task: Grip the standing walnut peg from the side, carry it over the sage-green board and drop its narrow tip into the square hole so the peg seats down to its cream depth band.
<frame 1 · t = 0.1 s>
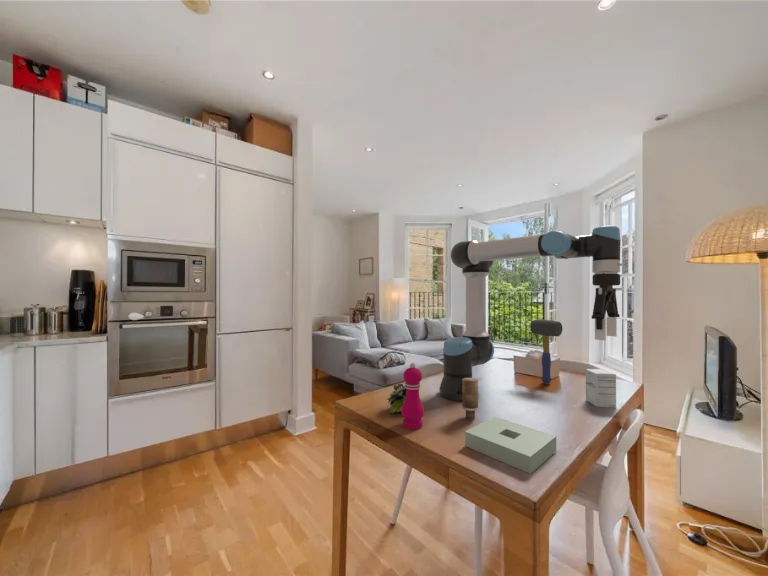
hand: (606, 338, 104), 28 cm above the table, tool pointing down, fingers open, 13 cm apart
supplement box: (600, 404, 121), on the table
sage board: (510, 448, 86), on the table
walnut peg: (470, 418, 107), on the table
rubber mallet: (546, 384, 148), on the table
pepper mill: (412, 426, 101), on the table
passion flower: (403, 411, 114), on the table
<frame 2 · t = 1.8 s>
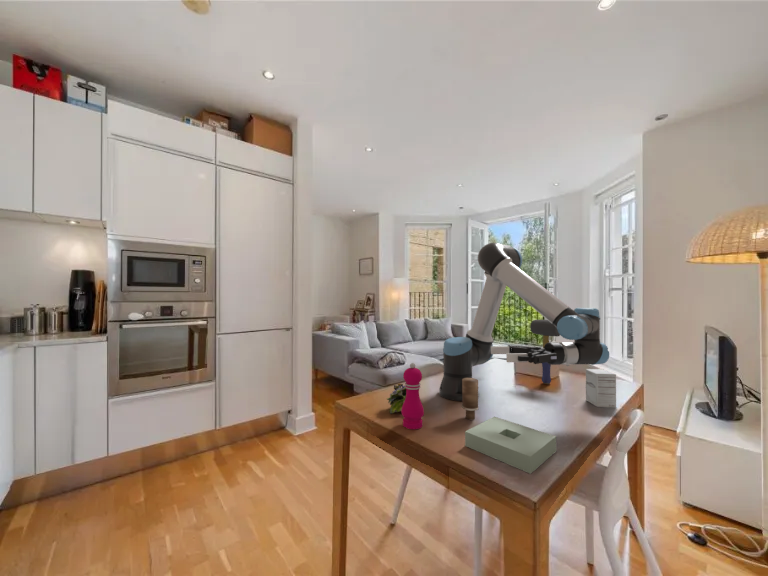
hand: (498, 353, 108), 22 cm above the table, tool horizontal, fingers open, 13 cm apart
nothing on the table moved.
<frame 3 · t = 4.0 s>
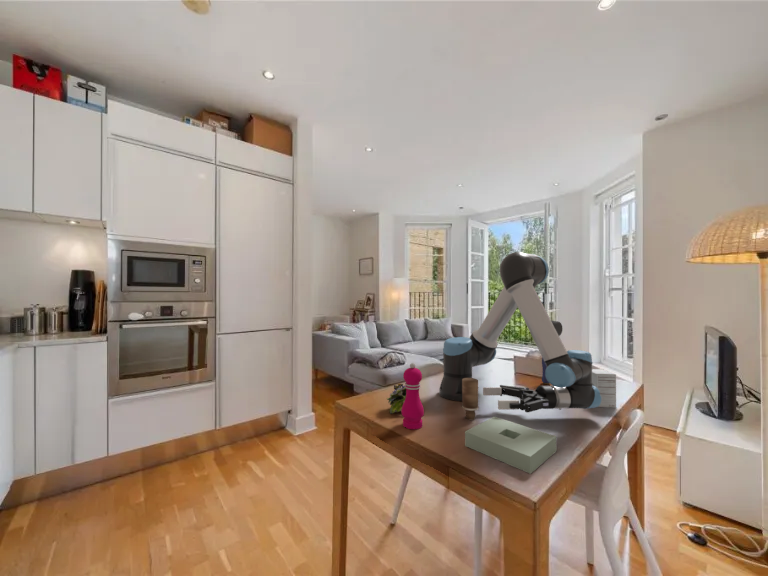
hand: (490, 397, 107), 7 cm above the table, tool horizontal, fingers open, 13 cm apart
nothing on the table moved.
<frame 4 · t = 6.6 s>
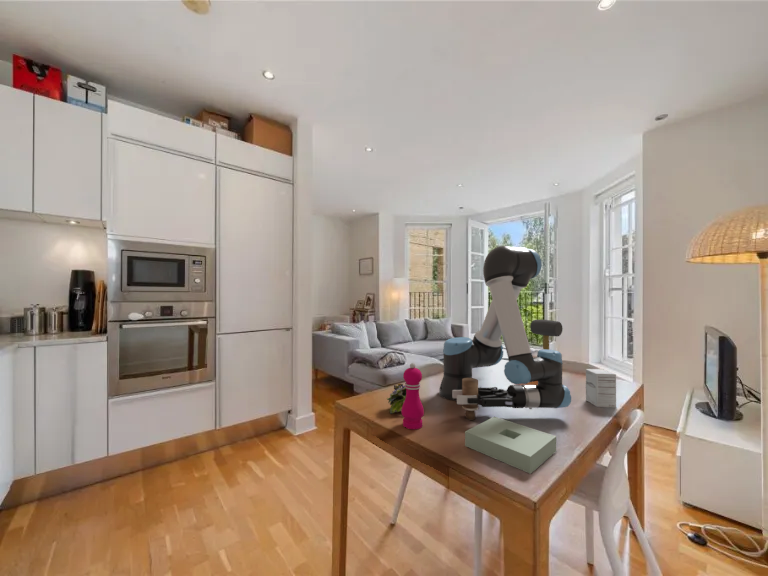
hand: (454, 396, 107), 7 cm above the table, tool horizontal, fingers closed on walnut peg, 5 cm apart
walnut peg: (470, 418, 107), on the table, touching gripper
everything else where it was.
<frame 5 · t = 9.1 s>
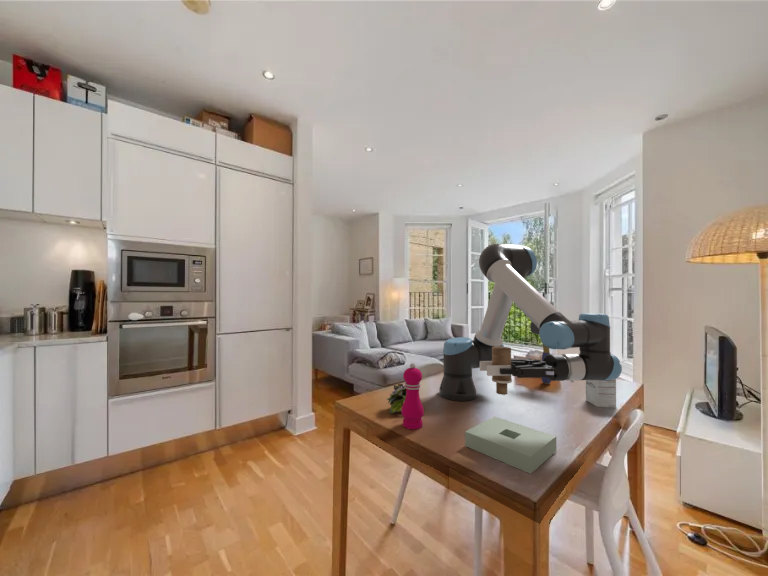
hand: (483, 368, 91), 21 cm above the table, tool horizontal, fingers closed on walnut peg, 5 cm apart
walnut peg: (501, 393, 91), point 14 cm above the table, touching gripper
everything else where it was.
when the fingers open (10 cm above the table, at t = 11.7 s): walnut peg drops 2 cm, resting on sage board.
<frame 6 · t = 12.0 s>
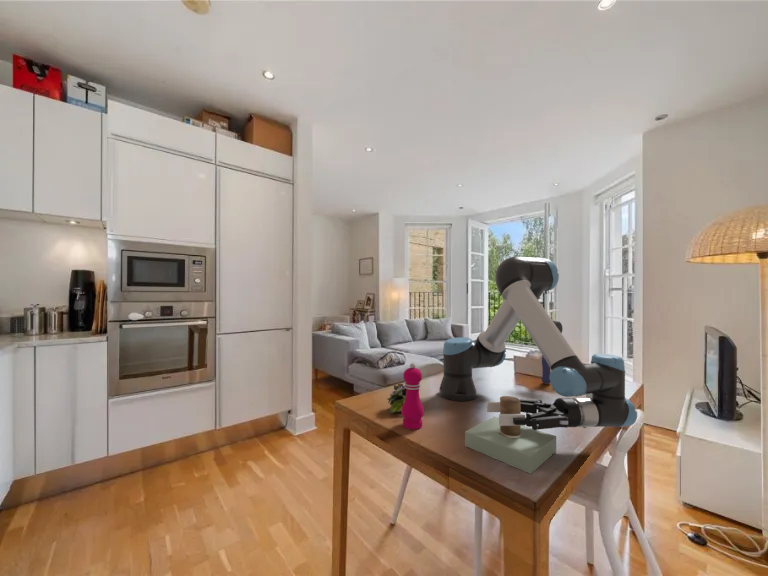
hand: (493, 413, 86), 10 cm above the table, tool horizontal, fingers open, 8 cm apart
walnut peg: (510, 446, 86), resting on sage board
everything else where it was.
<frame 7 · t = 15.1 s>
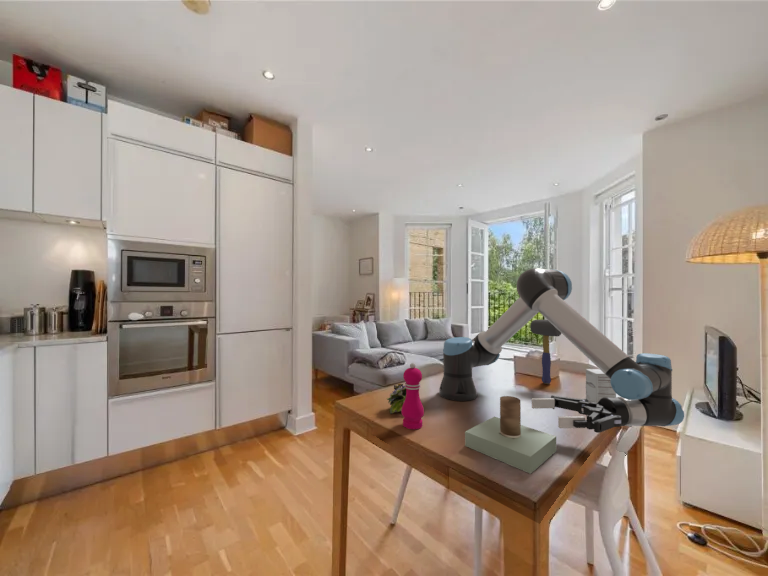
hand: (544, 412, 87), 10 cm above the table, tool horizontal, fingers open, 13 cm apart
nothing on the table moved.
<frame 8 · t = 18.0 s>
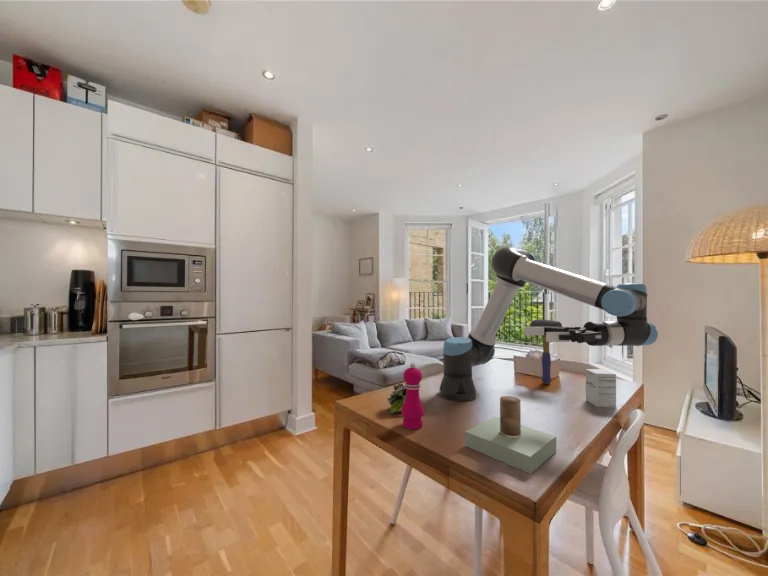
hand: (534, 333, 98), 30 cm above the table, tool horizontal, fingers open, 13 cm apart
nothing on the table moved.
at the end: walnut peg 0.1 cm off-centre on the sage board, point 0.5 cm above the sage board's base; walnut peg tilted 0°; the gripper is holding nothing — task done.
